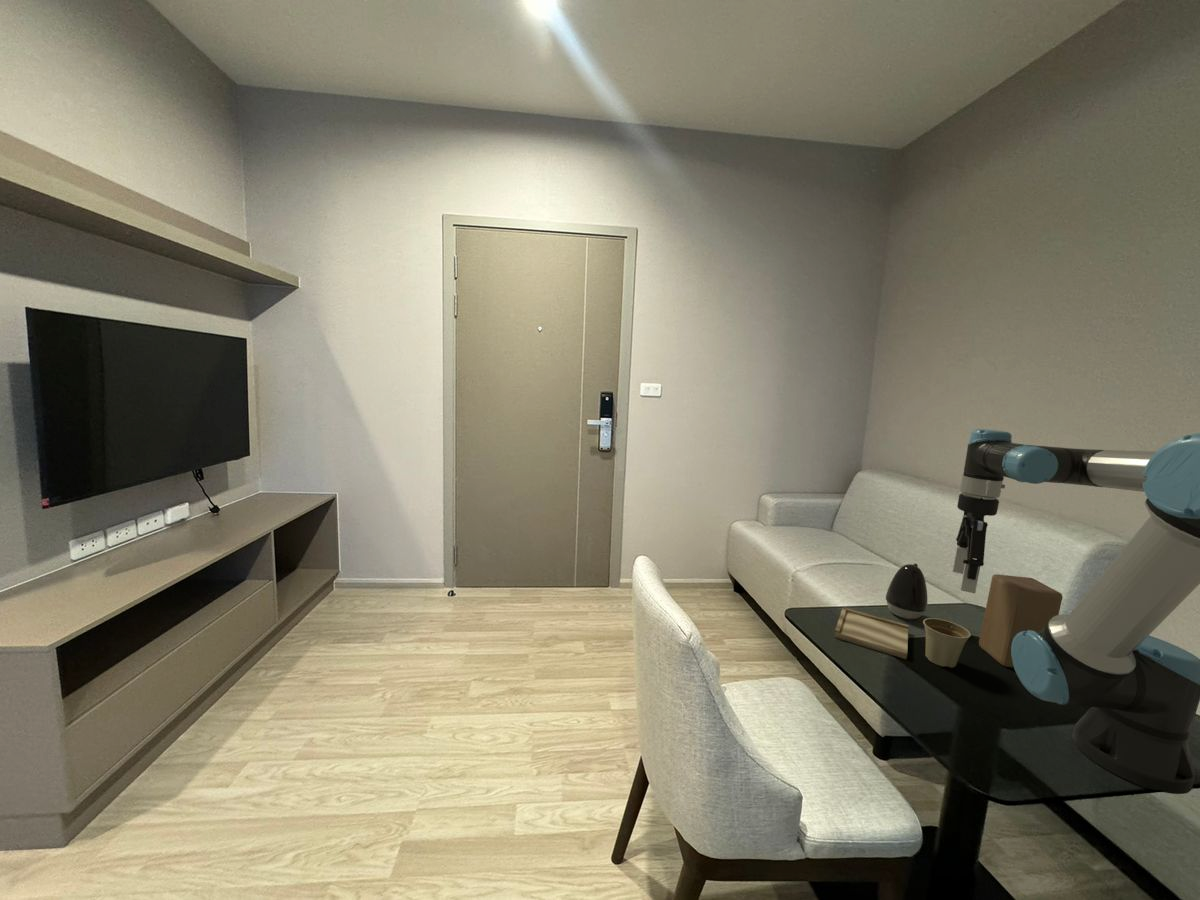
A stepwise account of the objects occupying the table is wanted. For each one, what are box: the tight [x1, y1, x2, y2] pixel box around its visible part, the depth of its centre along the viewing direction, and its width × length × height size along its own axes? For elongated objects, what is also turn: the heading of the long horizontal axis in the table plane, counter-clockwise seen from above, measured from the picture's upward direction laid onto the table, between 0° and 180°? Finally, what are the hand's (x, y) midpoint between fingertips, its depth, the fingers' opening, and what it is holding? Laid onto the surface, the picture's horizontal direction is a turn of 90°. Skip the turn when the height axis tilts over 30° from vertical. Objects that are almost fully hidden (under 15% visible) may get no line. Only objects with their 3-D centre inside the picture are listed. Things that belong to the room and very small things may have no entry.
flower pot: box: [922, 617, 972, 669], centre depth 120 cm, size 9×9×9 cm
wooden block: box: [978, 573, 1063, 668], centre depth 122 cm, size 10×10×20 cm
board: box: [833, 606, 909, 660], centre depth 131 cm, size 16×16×2 cm
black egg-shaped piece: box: [885, 563, 928, 620], centre depth 143 cm, size 10×10×15 cm
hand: (963, 581), depth 120 cm, fingers open, 13 cm apart
